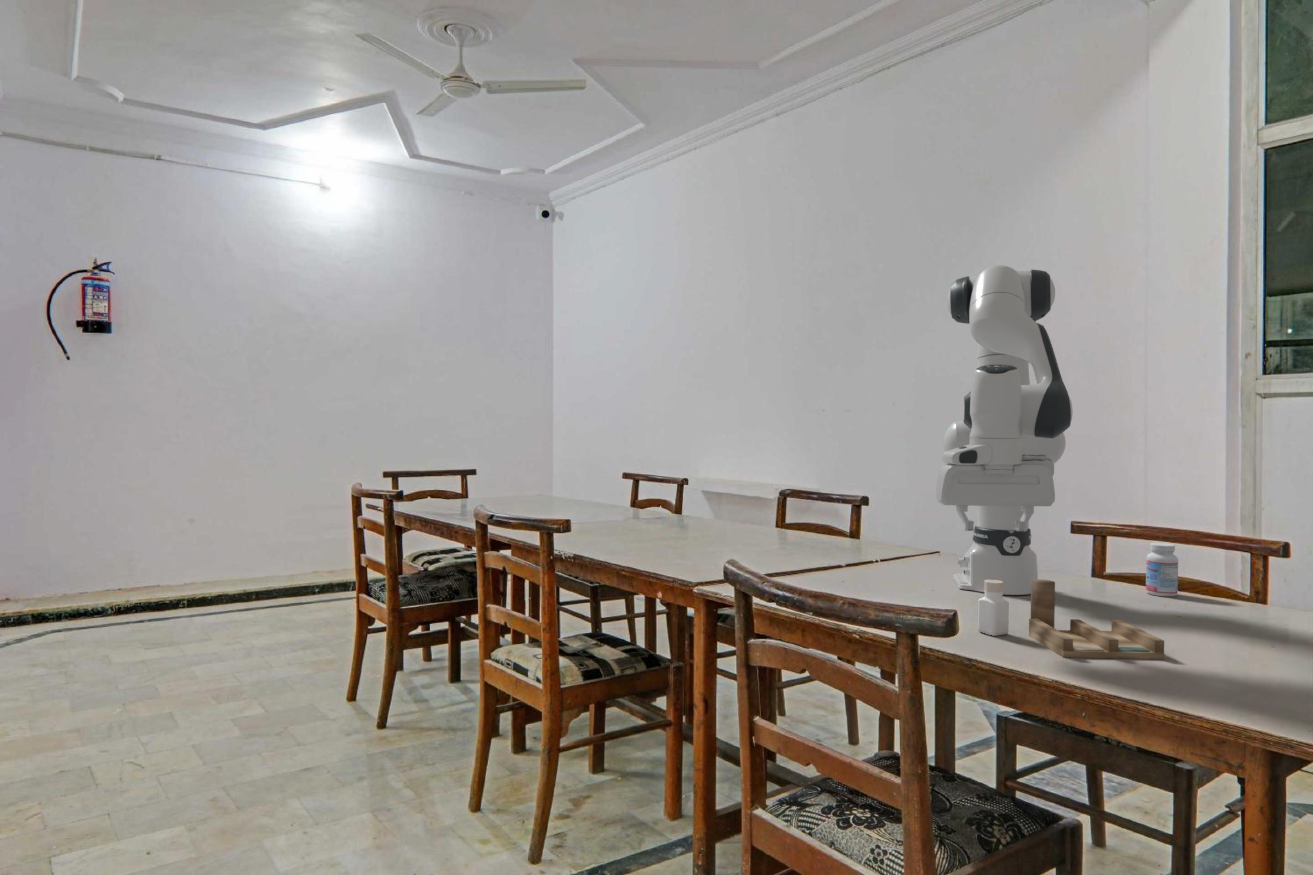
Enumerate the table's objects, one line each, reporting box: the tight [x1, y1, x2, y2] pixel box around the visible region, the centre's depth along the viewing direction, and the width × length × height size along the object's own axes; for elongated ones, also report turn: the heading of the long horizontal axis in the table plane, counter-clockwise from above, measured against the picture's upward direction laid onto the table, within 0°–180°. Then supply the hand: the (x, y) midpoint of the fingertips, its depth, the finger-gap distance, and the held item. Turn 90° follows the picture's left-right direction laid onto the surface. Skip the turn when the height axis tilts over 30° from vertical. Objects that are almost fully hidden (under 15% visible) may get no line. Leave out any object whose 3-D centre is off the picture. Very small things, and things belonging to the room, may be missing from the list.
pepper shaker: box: [977, 580, 1010, 637], centre depth 152 cm, size 4×4×10 cm
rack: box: [1028, 618, 1165, 660], centre depth 143 cm, size 14×16×3 cm
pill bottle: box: [1145, 542, 1179, 598], centre depth 187 cm, size 6×6×11 cm
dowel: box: [1030, 578, 1056, 629], centre depth 154 cm, size 4×4×9 cm
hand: (994, 530), depth 151 cm, fingers open, 8 cm apart
